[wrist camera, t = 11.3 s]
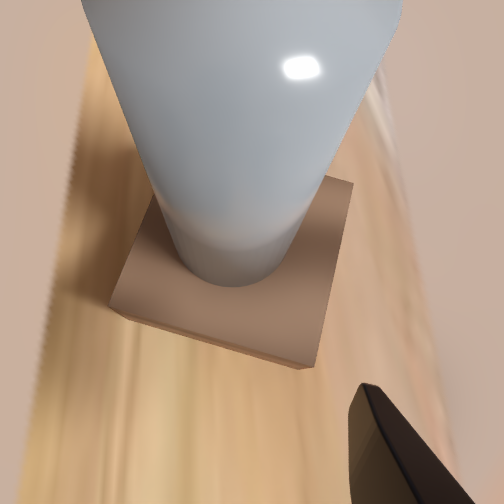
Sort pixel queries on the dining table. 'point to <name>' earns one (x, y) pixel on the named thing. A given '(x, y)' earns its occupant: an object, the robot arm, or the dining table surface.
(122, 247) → the dining table surface
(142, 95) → the grey cylinder
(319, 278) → the walnut box
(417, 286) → the dining table surface
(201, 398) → the dining table surface
